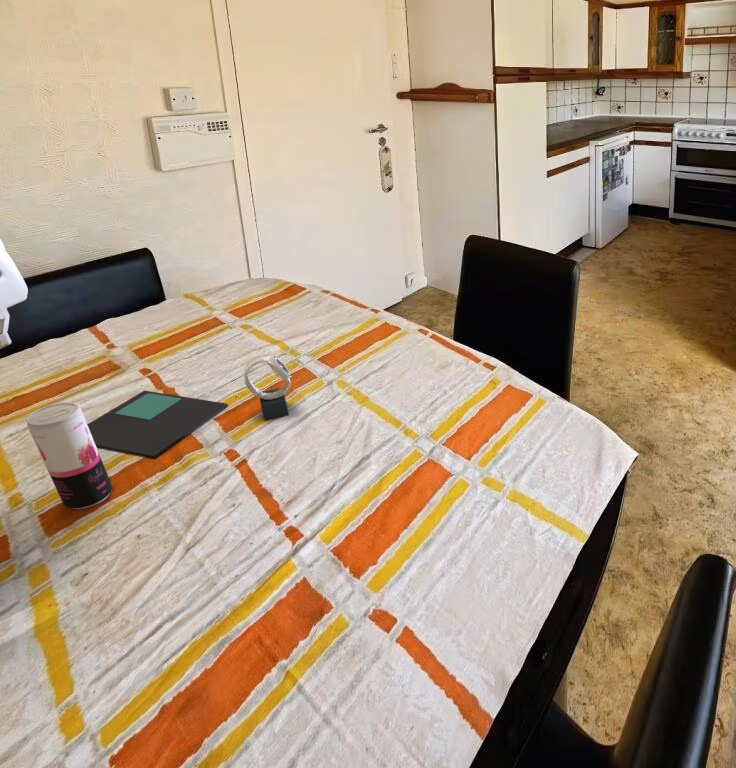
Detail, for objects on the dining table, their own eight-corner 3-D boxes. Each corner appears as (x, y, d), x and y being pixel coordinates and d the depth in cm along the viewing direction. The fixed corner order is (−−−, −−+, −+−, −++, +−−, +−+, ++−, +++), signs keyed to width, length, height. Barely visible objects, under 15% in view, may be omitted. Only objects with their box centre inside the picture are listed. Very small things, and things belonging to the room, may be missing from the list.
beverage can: (120, 495, 96) (86, 411, 88) (72, 516, 91) (32, 431, 84) (104, 478, 100) (71, 397, 92) (58, 498, 95) (19, 414, 88)
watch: (299, 412, 116) (288, 359, 111) (254, 422, 114) (240, 369, 108) (296, 399, 121) (285, 348, 116) (252, 408, 118) (238, 356, 113)
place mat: (64, 441, 110) (63, 438, 109) (145, 392, 125) (144, 390, 124) (155, 458, 104) (154, 455, 104) (228, 406, 119) (227, 403, 119)
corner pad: (114, 414, 116) (114, 413, 116) (148, 393, 123) (148, 393, 123) (148, 420, 114) (148, 419, 114) (181, 399, 121) (180, 398, 121)
